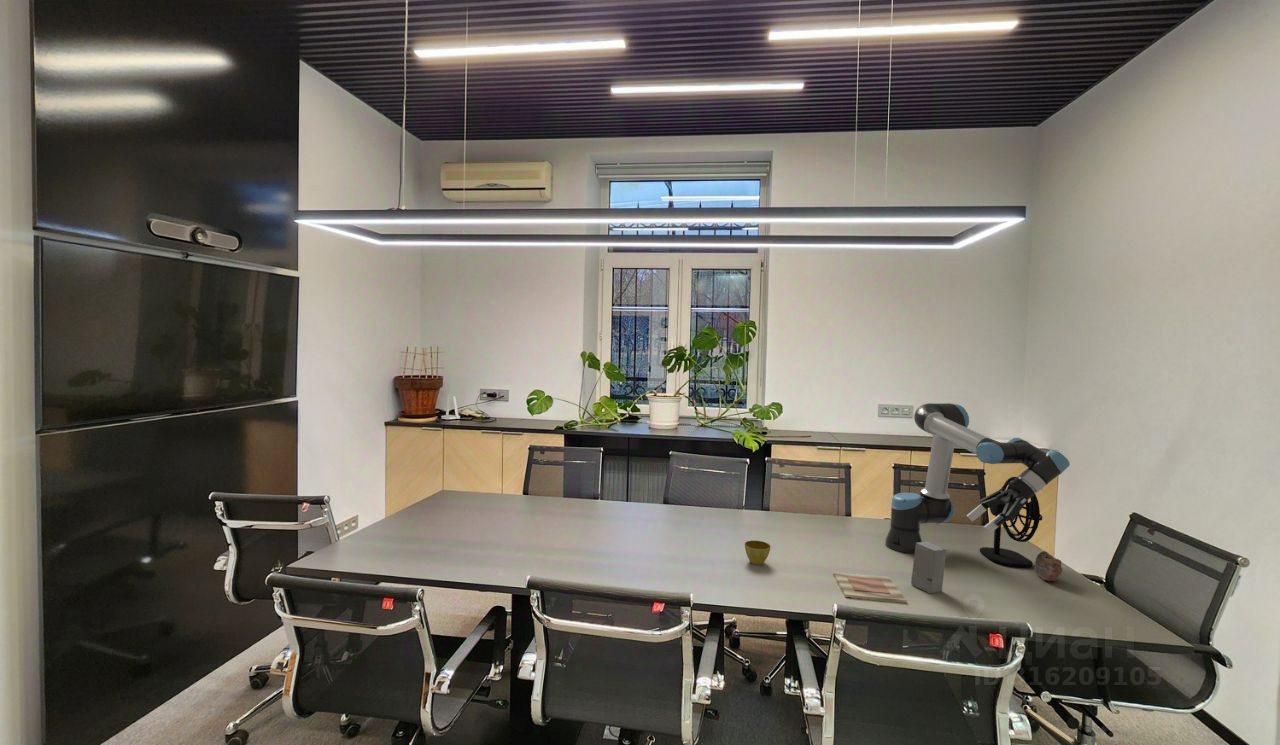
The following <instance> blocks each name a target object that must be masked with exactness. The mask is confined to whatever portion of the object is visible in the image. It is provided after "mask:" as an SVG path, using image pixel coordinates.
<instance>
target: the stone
mask: <svg viewBox="0 0 1280 745" xmlns="http://www.w3.org/2000/svg"><path fill="white" fill-rule="evenodd" d="M1062 564H1063V563H1062V561H1061V559H1058V558H1054V557H1053V555H1051V554H1049V552H1047V551H1045V550H1043V551H1041V552H1039V554H1037V555H1036V557H1035V563H1034V572H1035V574H1037V575H1038V576H1039V577H1040V578H1041V580H1044V581H1047V582H1056V581H1058V578H1059V576H1060V575H1061V574H1063V571H1064V570H1063V568H1062Z"/></svg>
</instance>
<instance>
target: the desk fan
mask: <svg viewBox="0 0 1280 745" xmlns="http://www.w3.org/2000/svg"><path fill="white" fill-rule="evenodd" d="M1015 478H1018V476H1011V477H1009V478H1008V479H1006V481H1005V482H1004V484H1003V485H1002V486H1001V488H1003V487H1004V488H1005V489H1006V490H1008V489H1010V487H1009V483H1010V482H1011V481H1013V480H1014V479H1015ZM1027 501H1028V502H1027V503H1026V504H1025V505H1024V506H1023V507H1022V509H1023V510H1025V514H1021V513H1020V512H1021V511H1020V512H1019V513H1018V515H1017V516H1016V518H1015V519H1014V520H1013V521H1012V522H1011V521H1010V520H1009V522H1010V525H1008V524H1007V521H1005V522H1004V523H1003V524H1002V525H1000V526H999V527H998V528H997V529H995V530H994V531H993V532H994V534H993V535H994V536H993V547H990V546H989V547H987V546H985V547H984V546H983V547H980V548H979V552H980V553H981V555H983V556H985V557H986V558H987V559H989V560H990V561H992V562H995V563H996V564H998V565H999V564H1000V565H1002V566H1009V567H1019V568H1031V567H1033V564H1034V563H1033V561H1032V560H1031V559H1029V558H1027V557H1026V556H1025V555H1022V554H1021V553H1019V552H1017V551H1015V550H1011V549H1007V548H1002V547H1001V534H1002V527H1003V529H1004V530H1005V532H1006V533H1007V535H1008V537H1009V538H1010V539H1011V540H1014V541H1016V542H1020V543H1026V542H1028V541H1030V540H1031V539H1032V538H1033V537H1034V535H1035V534H1036V531H1037V530H1038V528H1039V524H1040V521H1043V515H1042V514H1041V511H1040V510H1041V509H1040V503H1039V500H1038V497H1037V495H1036V493H1035V495H1033V496H1032V497H1031V498H1030V501H1029V499H1028V500H1027ZM1005 505H1006V504H1002V503H1001V504H998V505H995V506H993V507H990V508H989V511H990V514H991V515H992V516H994V518H995V517H997V516H998V515H1000V513H1002V512H1003V510H1004V507H1005ZM1000 516H1001V515H1000ZM1001 517H1002V516H1001ZM1011 517H1012V516H1011ZM1018 518H1019V521H1020V523H1021V524H1022V526H1023V527H1022V529H1021V530H1019V528H1017V527H1016V523H1017V521H1018ZM1023 519H1025V521H1024V520H1023ZM1032 521H1033V523H1032ZM1031 524H1032V525H1031ZM1010 528H1012V529H1013V531H1014V532H1016V533H1013V532H1012V531H1011V530H1010ZM1029 530H1030V532H1029ZM1028 532H1029V533H1028Z"/></svg>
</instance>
